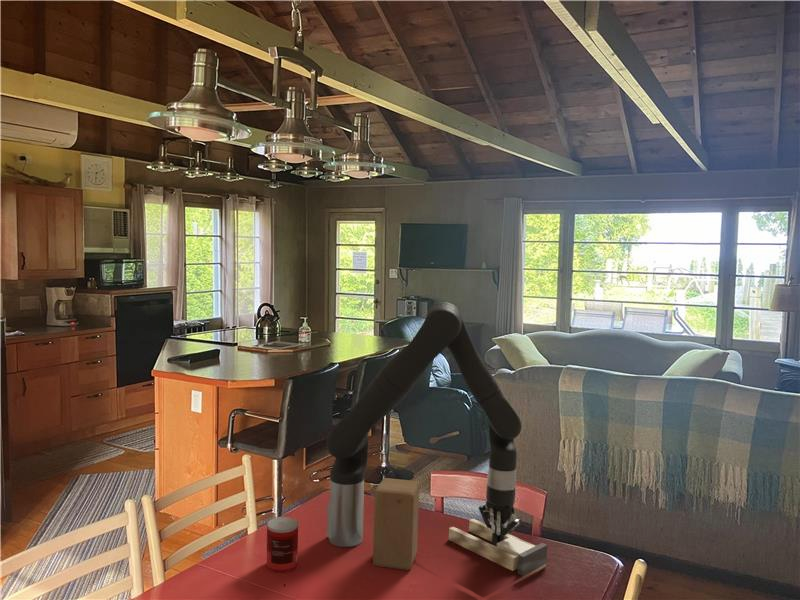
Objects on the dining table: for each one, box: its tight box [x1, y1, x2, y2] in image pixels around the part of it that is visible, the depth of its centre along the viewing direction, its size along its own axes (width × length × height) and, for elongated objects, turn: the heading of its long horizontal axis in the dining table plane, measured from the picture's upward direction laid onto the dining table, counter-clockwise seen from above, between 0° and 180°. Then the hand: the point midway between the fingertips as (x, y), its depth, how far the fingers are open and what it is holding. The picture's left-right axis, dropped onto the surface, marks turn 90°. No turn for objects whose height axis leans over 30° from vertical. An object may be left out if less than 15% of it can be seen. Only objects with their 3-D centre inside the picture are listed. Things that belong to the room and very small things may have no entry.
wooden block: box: [372, 477, 420, 571], centre depth 164 cm, size 10×10×20 cm
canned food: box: [266, 516, 299, 574], centre depth 160 cm, size 8×8×11 cm
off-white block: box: [497, 537, 534, 569], centre depth 164 cm, size 8×6×4 cm
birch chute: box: [448, 518, 548, 579], centre depth 170 cm, size 26×10×6 cm, turn 43°
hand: (497, 546), depth 169 cm, fingers closed
